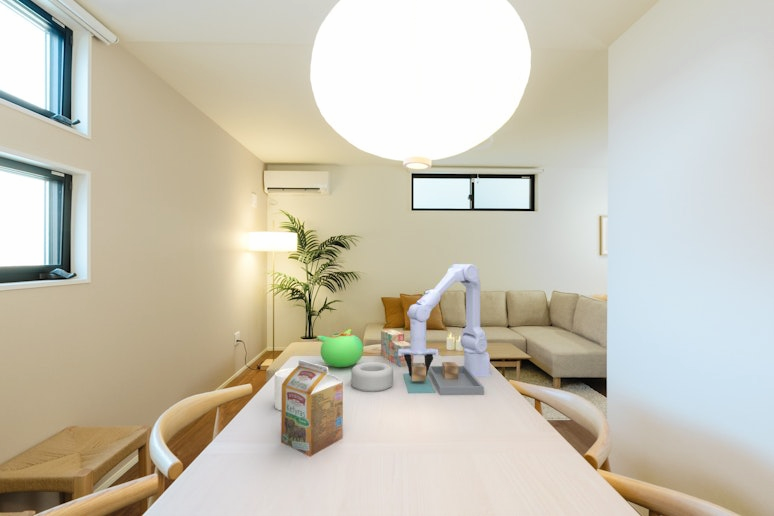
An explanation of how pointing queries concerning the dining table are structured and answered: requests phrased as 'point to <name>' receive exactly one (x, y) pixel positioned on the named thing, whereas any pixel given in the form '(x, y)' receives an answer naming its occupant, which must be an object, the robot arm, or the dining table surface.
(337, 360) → the toy bird
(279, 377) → the mug
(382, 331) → the stack of blocks
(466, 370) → the tray
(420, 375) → the labelled box
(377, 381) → the fat ring
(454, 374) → the plain box
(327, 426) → the milk carton
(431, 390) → the teal board
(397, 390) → the dining table surface
